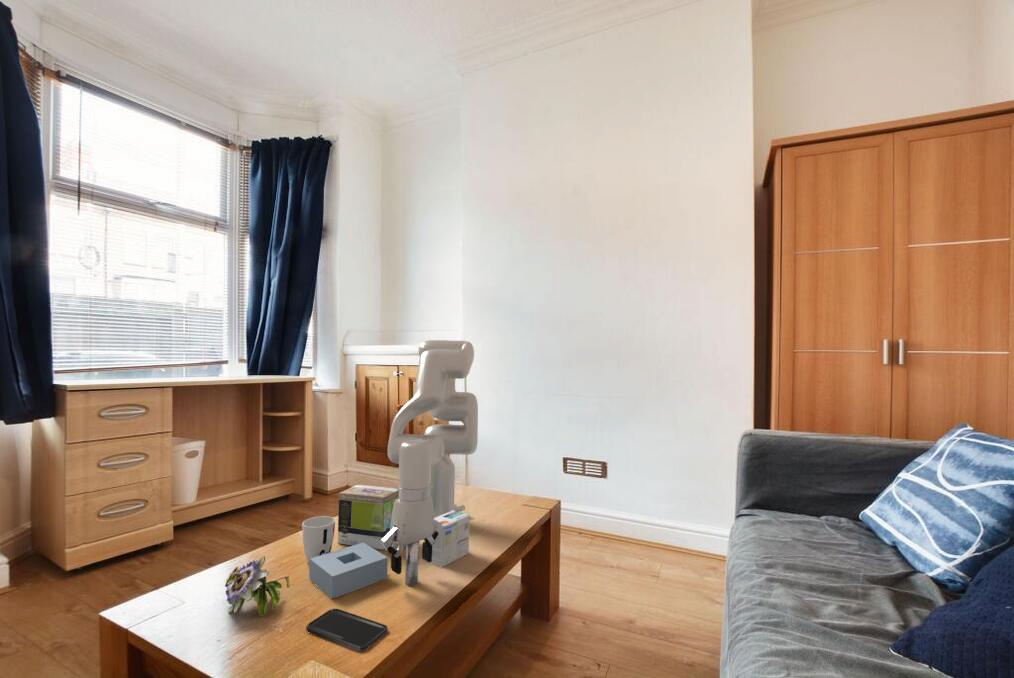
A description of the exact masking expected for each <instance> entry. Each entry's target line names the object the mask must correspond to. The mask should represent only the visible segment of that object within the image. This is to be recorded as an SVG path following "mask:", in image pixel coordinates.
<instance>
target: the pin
mask: <svg viewBox="0 0 1014 678" xmlns="http://www.w3.org/2000/svg"><path fill="white" fill-rule="evenodd" d="M405 548H406V549H405V579H404V580H405V581H404V583H405V586H408V587H414V586H417V584H419V558H420V555H419V554H420V553H419V552H420V541H417V542H414V543H411V544H408V545H405Z"/></svg>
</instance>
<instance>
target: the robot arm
mask: <svg viewBox="0 0 1014 678" xmlns="http://www.w3.org/2000/svg"><path fill="white" fill-rule="evenodd" d="M418 356H419V361H418V366H417V372H416V380H415V384H414V385H415V386H414V390H413V396H412V398H411V399H410V400H409V401H407V402H406V403H405V404H404V405H403V406H402V407H401V408H400V409H399V411H398V412H397V414H395V416H394V418H393V420H392V423H391V427H390V431H389V432H390V433H389V438H388V441H387V457H388V459H389V461H390V462H392V464H393V463H394V464H397V465H398V486H397V488H398V499H396V500H395V502H394V506H393V510H392V516H391V524H390V532H389V533H388V534H387V535H386V536H385V537H384V538H383V539H382V540H381V544H382V545H383V547H384V548H385V549H384V550H385V551H386V552H387V553H389V555H390V556H391V557H390V569H391V571H392V572H394V573H395V574H397V575H400V574H401V573H402V563H403V559H402V556H401V554H402V551H403V549H404V547H406V545H408V544H411V543H414V542H417V541H419V542H420V541H422V540H423V542H422V544H421V545H422V547H421V549H422V550H421V558H422V560H424V561H426V562H427V563H431V562H432V545H434V544H435V539H436V538H437V536H438V534H439V533H438V532H439V531H440V529H441V527H442V524H441V523H440V522H438V521H436V520H434V518H435V517H438V516H440V515H443V514H445V513H447V512H450V511H452V510H454V511H457V512H463V511H465V509H466V505H464V504H461V505H457V504H455V485H456V484H455V483H456V467H455V464H454V462H453V460H452V459H451V457H450V456H449V455H458V456H459V455H465V456H468V455H473V454H475V452H476V451H477V447H478V441H479V440H478V438H479V436H478V435H479V431H478V429H479V427H478V426H479V425H478V424H479V418H478V417H479V415H478V414H479V405H478V403H479V402H478V398H477V396H476V395H475V394H474V393H472V392H466V391H457V390H456V379H457V380H458V379H459V380H460V379H461V380H463V379H466V378H467V377H468V375H469V373H470V371H471V368H472V365H473V362H474V359H475V349H474V346H473V344H472V343H471V342H470V341H467V340H446V339H445V340H444V339H443V340H441V339H433V340H425V341H422V342H420V344H419V345H418ZM428 412H429V417H430V418H431V419H432V420H434V421H440V422H461V423H462V424H448V423H447V424H443V423H441V424H440V423H439V424H438V423H437V424H432V425H430V426H427V428H426V429H425V431H424V434H416V433H415V434H412V433H409V434H408V433H404V430H405V428H406V426H407V425H408V424H409V422H411V421H412V420H413V419H414V418H416V417H418V416H421V415H423V414H425V413H428ZM390 541H394V542H393V543H392V544H390Z"/></svg>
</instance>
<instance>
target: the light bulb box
mask: <svg viewBox="0 0 1014 678" xmlns="http://www.w3.org/2000/svg"><path fill="white" fill-rule="evenodd" d="M470 519H471V517H470V514H467V513H463V512H462V511H459V512H457V511H454V510H452V511H450V512H447V513H445V514H443V515H440V516H438V517H435V518H434V520H436V521H438V522H440V523H441V524H442V527H441V529H440V531H439V532H438V533H439V534H438V536H437V538H436V539H435V544H434V545H432V562H430V563H431V564H434V565H436V566H439V567H441V568H444V567H446V566H448V565H450V564H451V563H453V562H455V561H458V560H459V559H461V558H463V557H464V556H466V555H468V554H469V552H470V551H469V550H470Z"/></svg>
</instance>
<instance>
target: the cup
mask: <svg viewBox="0 0 1014 678" xmlns="http://www.w3.org/2000/svg"><path fill="white" fill-rule="evenodd" d="M301 528H302V530H301V531H302V544H303V550H304V555H305V558H306V561H308V562H309V563H308V562H307V563H308V564H310V559H311V558H314V557H317V556H320V555H324V554H327V553H330V552H332V547H333V543H334V537H335V529H336V518H335V517H333V516H327V515H321V516H320V515H319V516H314V517H310V518H308V519H305V520H304V521H303V522H302V524H301Z"/></svg>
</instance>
